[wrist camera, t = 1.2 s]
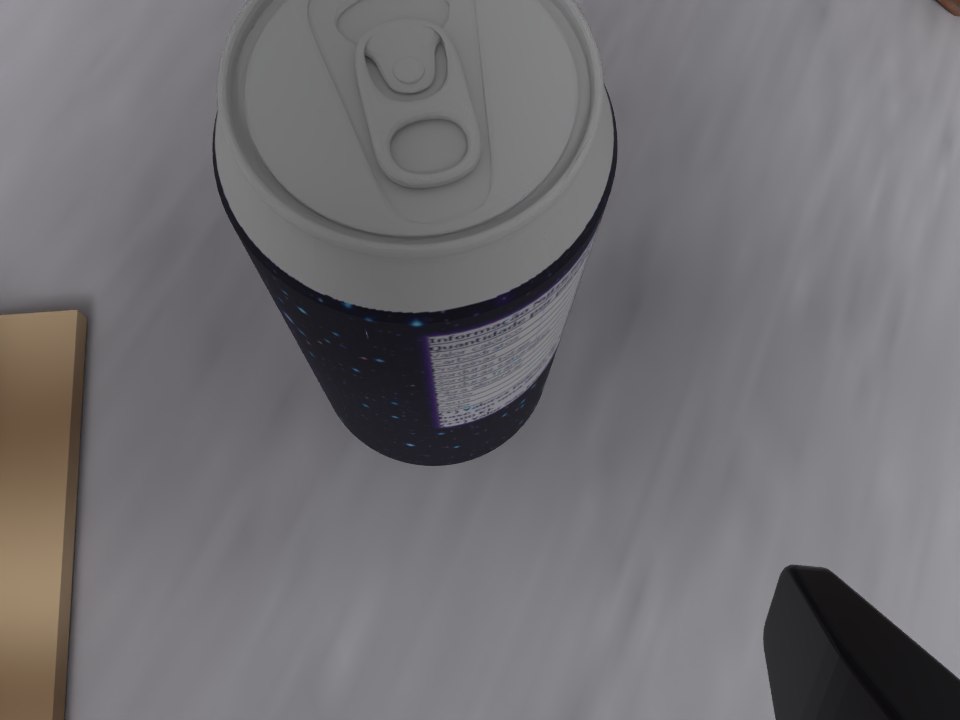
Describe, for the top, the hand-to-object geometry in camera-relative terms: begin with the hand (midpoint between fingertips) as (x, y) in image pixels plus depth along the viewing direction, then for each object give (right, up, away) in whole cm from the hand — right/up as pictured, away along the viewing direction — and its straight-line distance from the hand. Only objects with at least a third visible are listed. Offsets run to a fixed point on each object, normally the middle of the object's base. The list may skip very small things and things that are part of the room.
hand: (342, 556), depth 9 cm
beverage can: (0, +2, +14) cm, 14 cm away
